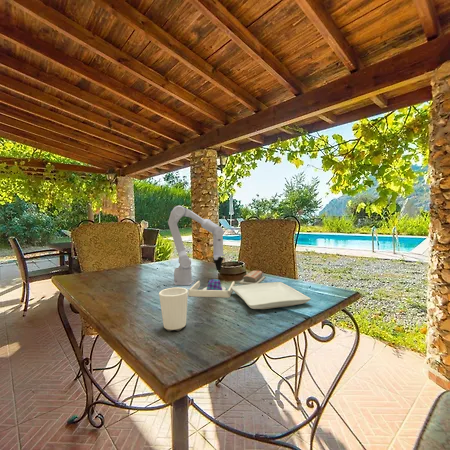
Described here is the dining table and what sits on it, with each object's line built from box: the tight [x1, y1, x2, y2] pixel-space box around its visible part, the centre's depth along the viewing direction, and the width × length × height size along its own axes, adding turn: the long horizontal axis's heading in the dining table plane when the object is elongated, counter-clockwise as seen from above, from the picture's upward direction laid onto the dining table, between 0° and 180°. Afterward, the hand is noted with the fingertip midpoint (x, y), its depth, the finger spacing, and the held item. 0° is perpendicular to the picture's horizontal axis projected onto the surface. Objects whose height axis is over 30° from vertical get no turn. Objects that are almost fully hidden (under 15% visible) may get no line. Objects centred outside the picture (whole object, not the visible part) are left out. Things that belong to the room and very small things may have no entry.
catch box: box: [187, 280, 236, 299], centre depth 130 cm, size 20×17×3 cm
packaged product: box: [239, 270, 266, 285], centre depth 149 cm, size 18×5×10 cm
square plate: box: [231, 281, 312, 310], centre depth 116 cm, size 27×27×4 cm
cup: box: [158, 286, 189, 333], centre depth 90 cm, size 10×10×13 cm
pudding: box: [202, 278, 227, 291], centre depth 133 cm, size 12×12×5 cm
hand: (218, 269), depth 151 cm, fingers closed
